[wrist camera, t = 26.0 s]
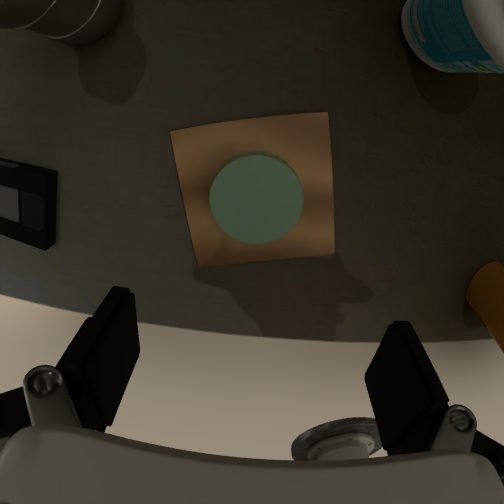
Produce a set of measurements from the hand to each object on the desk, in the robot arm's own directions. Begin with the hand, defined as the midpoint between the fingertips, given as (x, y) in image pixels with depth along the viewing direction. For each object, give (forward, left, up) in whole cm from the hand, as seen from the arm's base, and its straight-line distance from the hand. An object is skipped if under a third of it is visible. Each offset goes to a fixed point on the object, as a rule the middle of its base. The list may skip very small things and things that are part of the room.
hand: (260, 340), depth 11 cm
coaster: (0, 0, -16) cm, 16 cm away
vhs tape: (0, +26, -16) cm, 31 cm away
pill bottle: (+16, -14, -16) cm, 27 cm away
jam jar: (-8, -27, -16) cm, 32 cm away
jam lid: (0, 0, -14) cm, 14 cm away
